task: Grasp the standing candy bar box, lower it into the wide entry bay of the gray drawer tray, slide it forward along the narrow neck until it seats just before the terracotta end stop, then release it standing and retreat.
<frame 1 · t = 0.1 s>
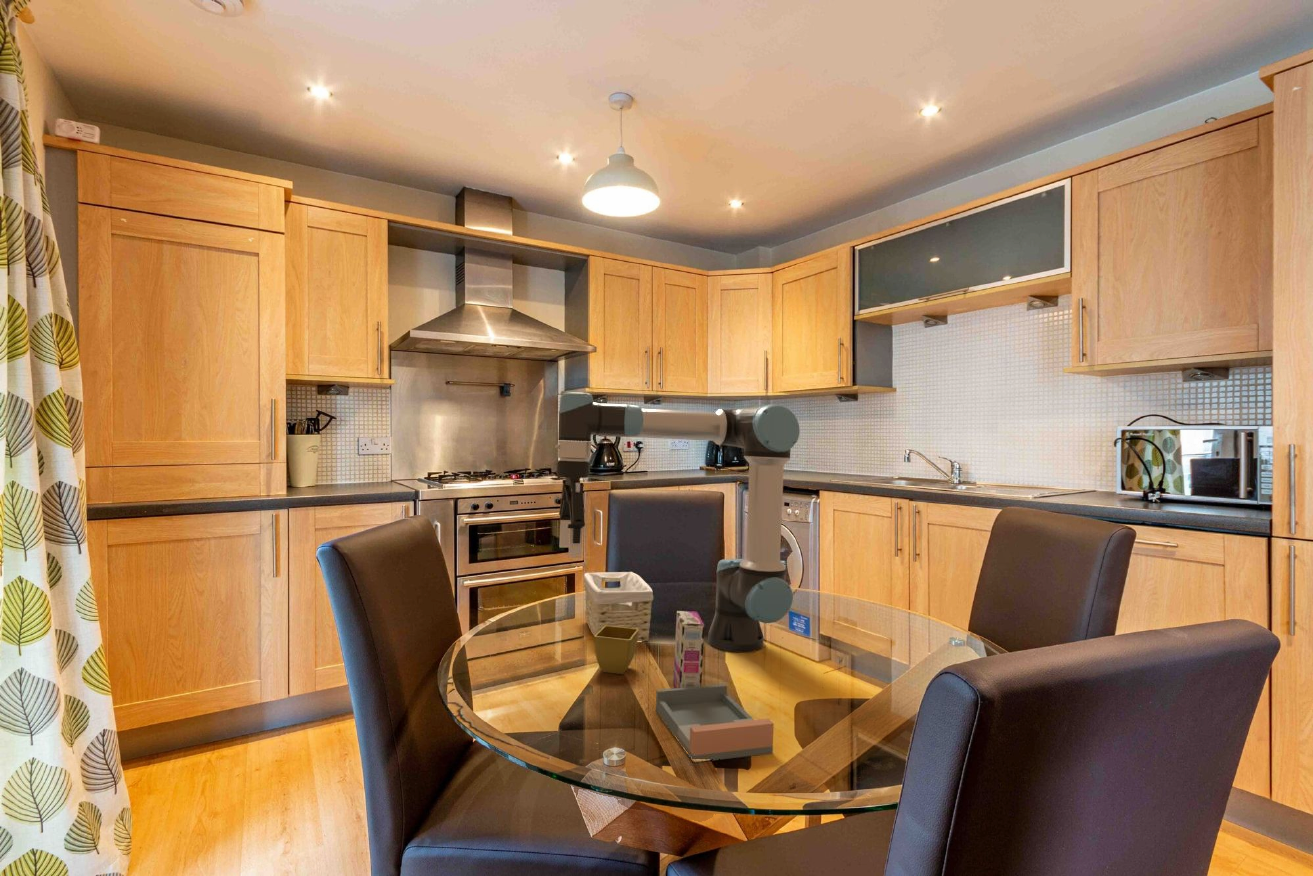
hand: (569, 552, 144), 28 cm above the table, fingers open, 13 cm apart
flower pot: (615, 671, 147), on the table
storage basket: (615, 633, 177), on the table
candy bar box: (686, 693, 136), on the table
gray drawer tray: (710, 730, 118), on the table
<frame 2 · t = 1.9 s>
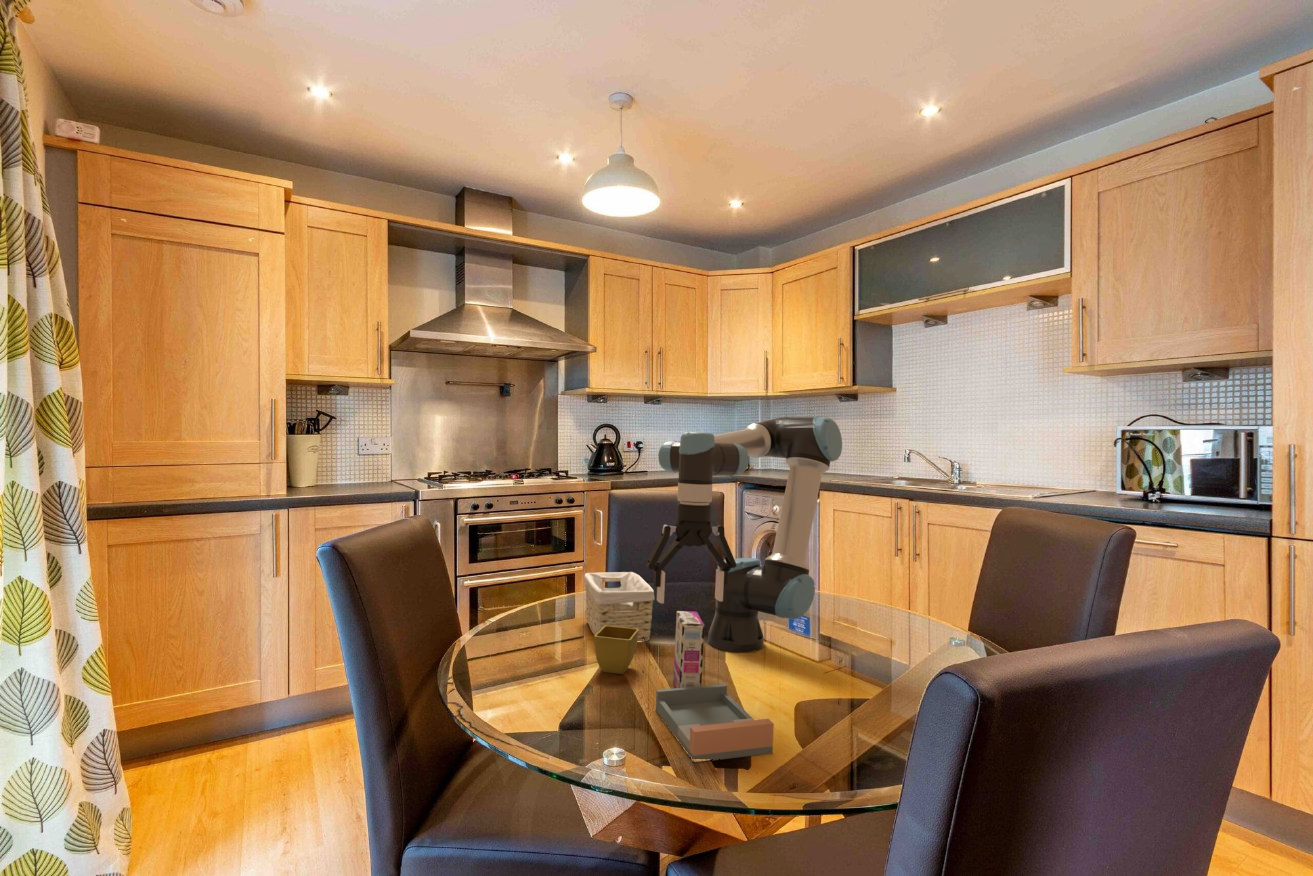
hand: (689, 601, 136), 20 cm above the table, fingers open, 13 cm apart
nothing on the table moved.
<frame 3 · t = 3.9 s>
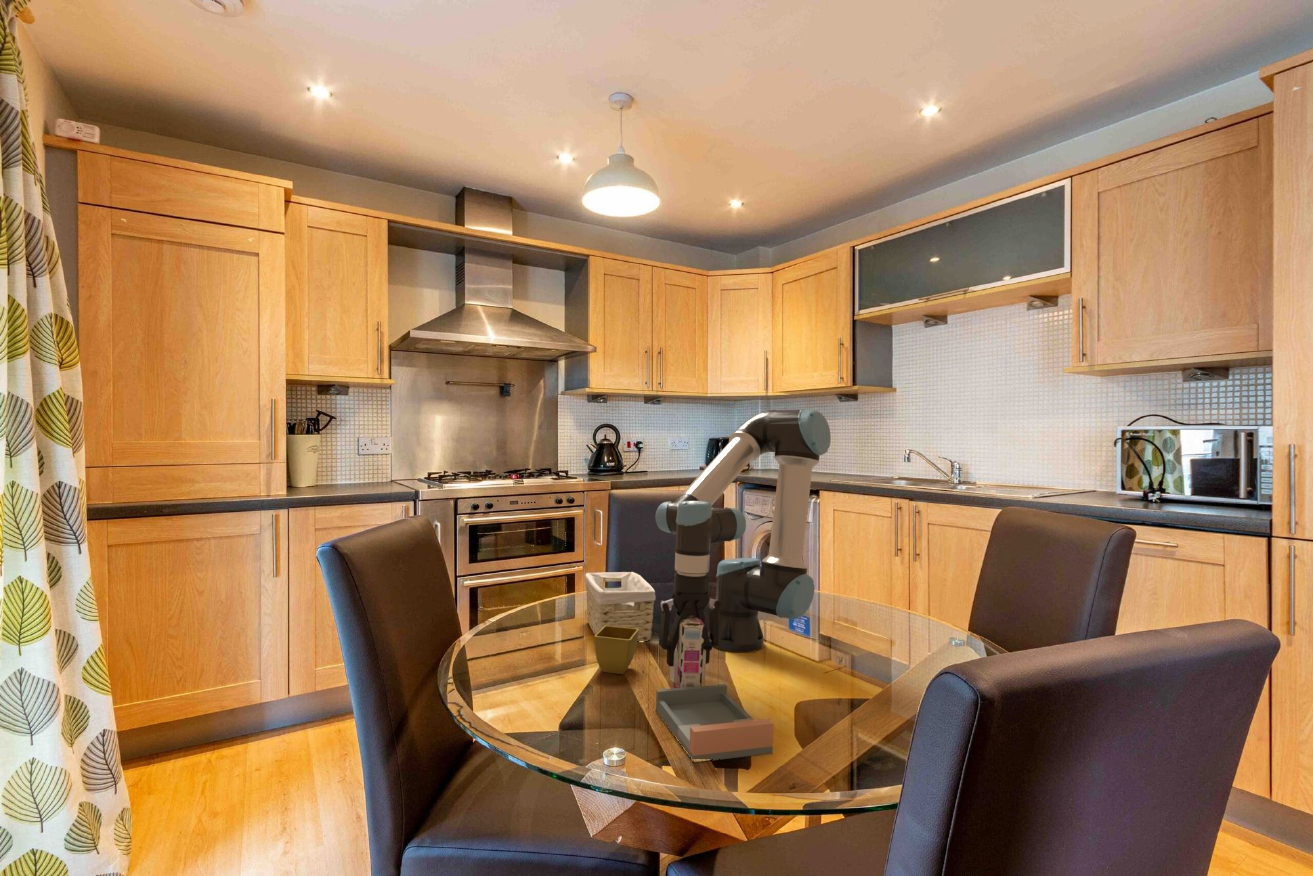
hand: (687, 679, 136), 3 cm above the table, fingers closed on candy bar box, 6 cm apart
candy bar box: (686, 693, 136), on the table, touching gripper
everything else where it was.
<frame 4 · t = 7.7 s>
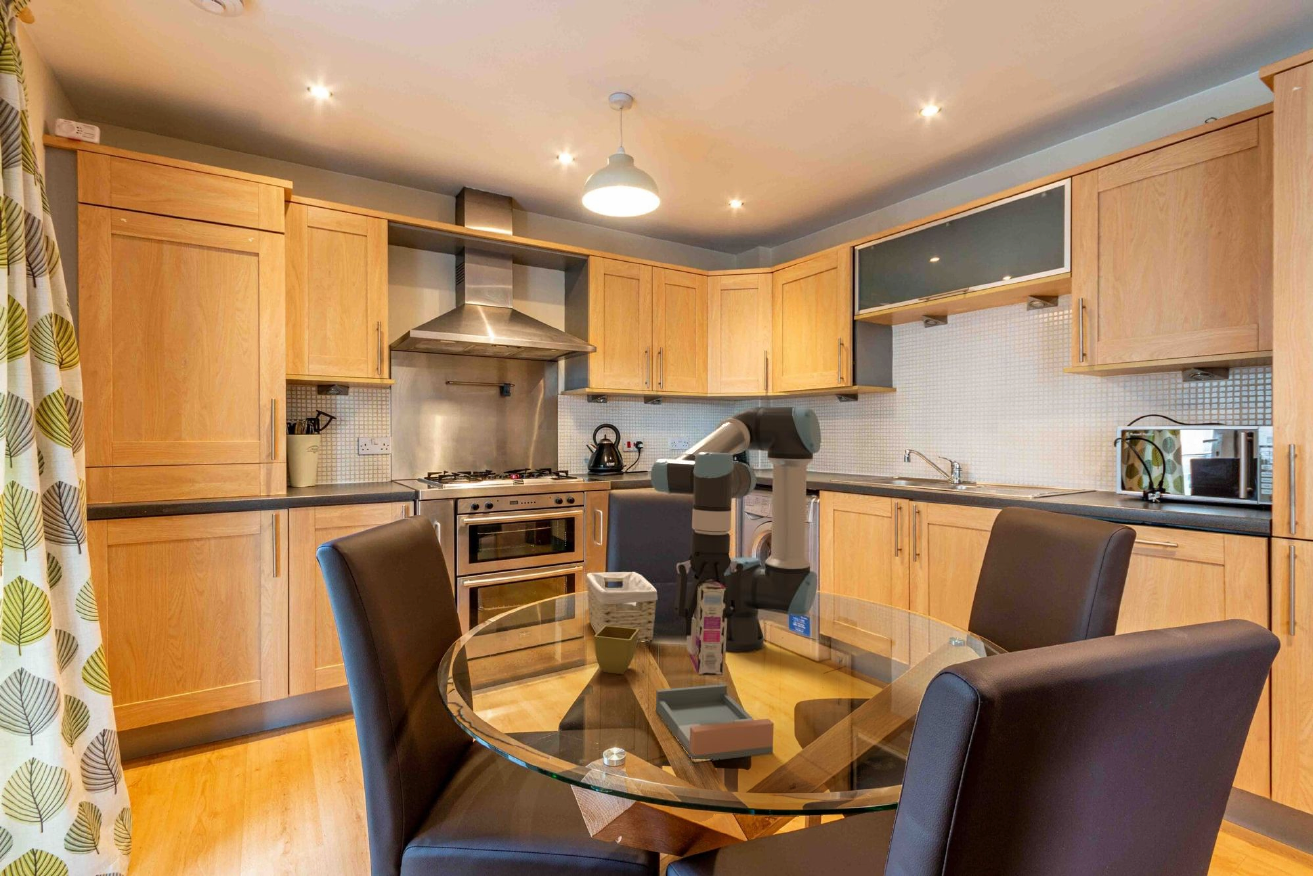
hand: (706, 650, 121), 14 cm above the table, fingers closed on candy bar box, 6 cm apart
candy bar box: (705, 666, 121), point 11 cm above the table, touching gripper
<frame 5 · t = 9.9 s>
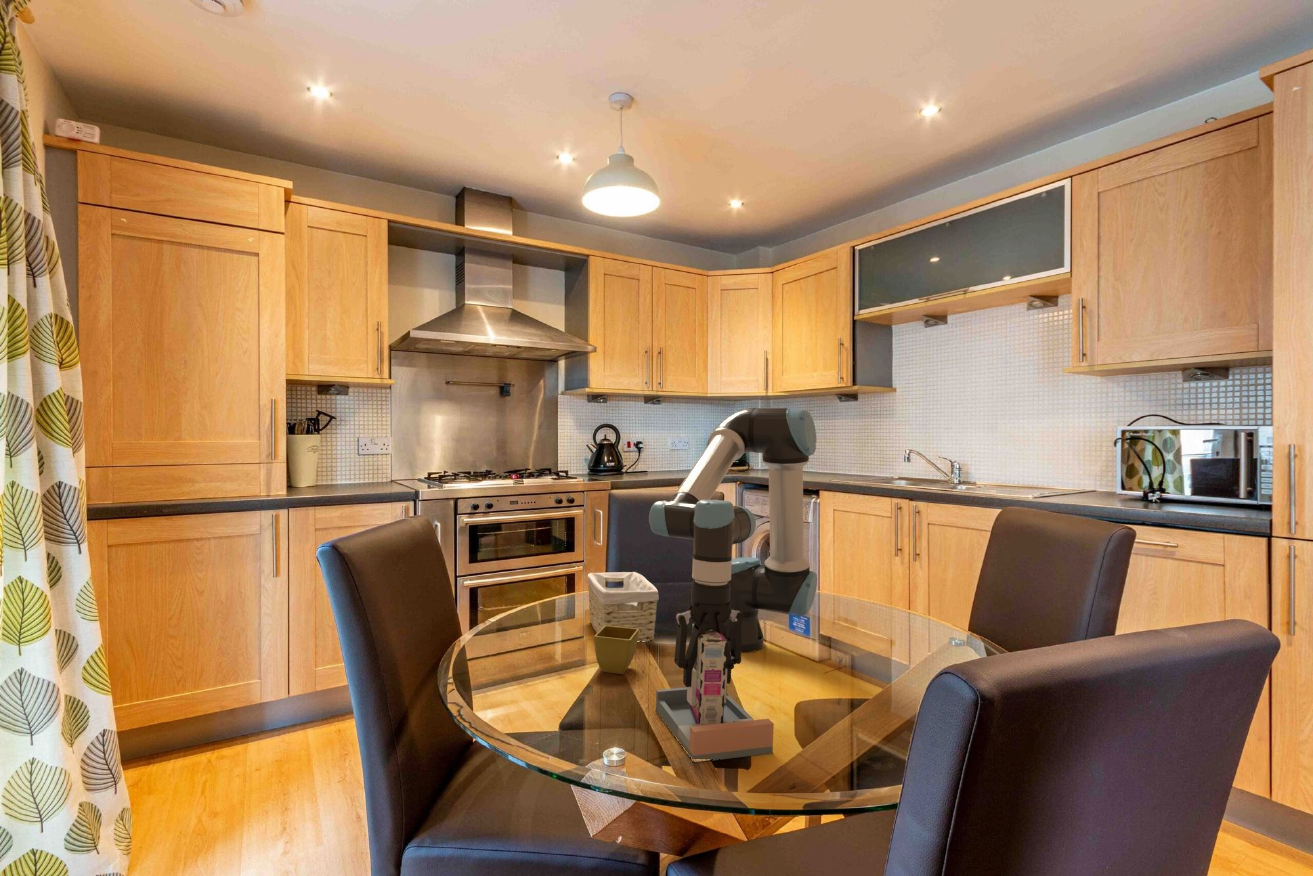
hand: (706, 701, 120), 5 cm above the table, fingers closed on candy bar box, 6 cm apart
candy bar box: (705, 717, 120), point 2 cm above the table, touching gripper, gray drawer tray
when the fingers open (4 cm above the table, at t = 11.8 s): candy bar box stays where it is, resting on gray drawer tray.
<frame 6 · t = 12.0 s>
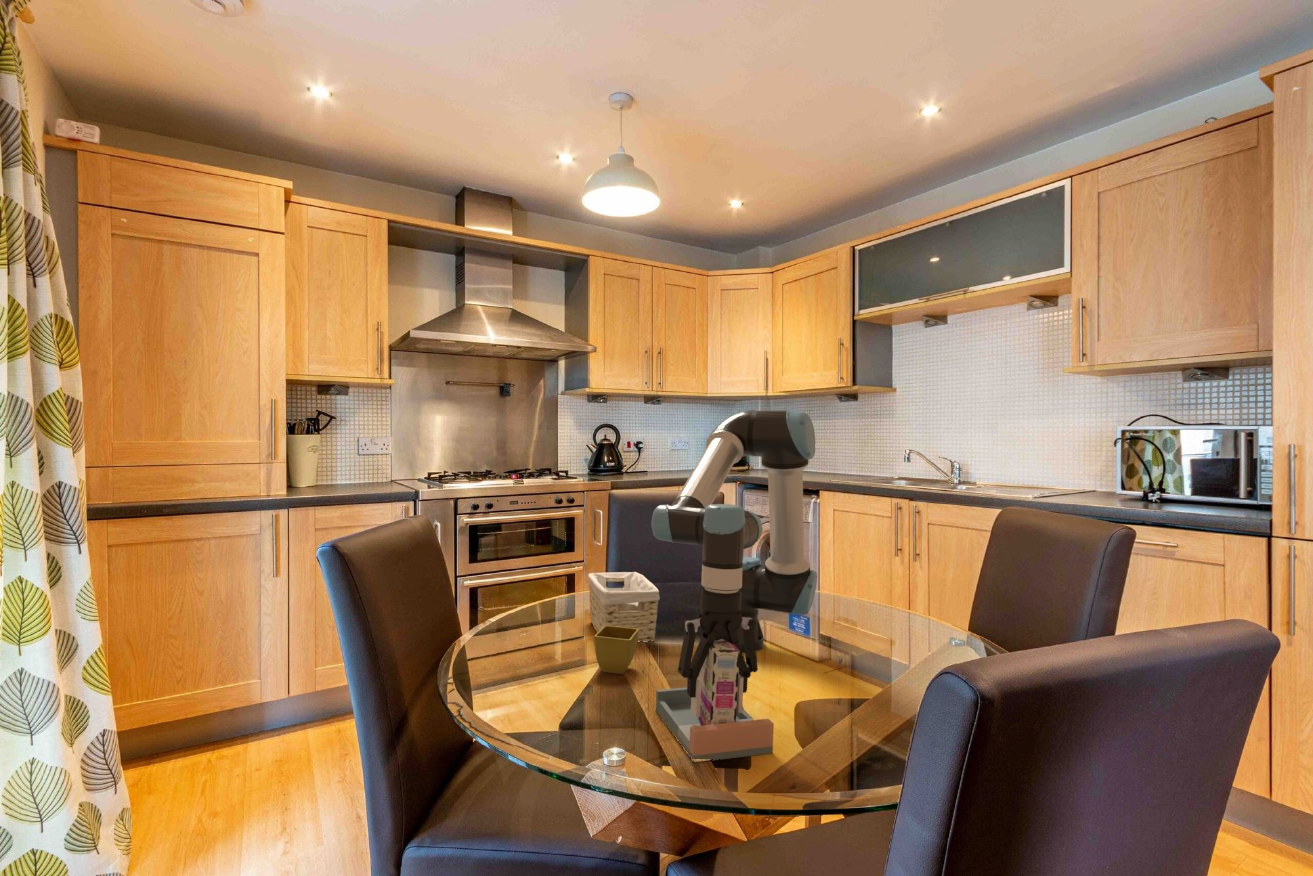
hand: (716, 711, 116), 5 cm above the table, fingers open, 8 cm apart
candy bar box: (716, 730, 116), point 1 cm above the table, touching gray drawer tray
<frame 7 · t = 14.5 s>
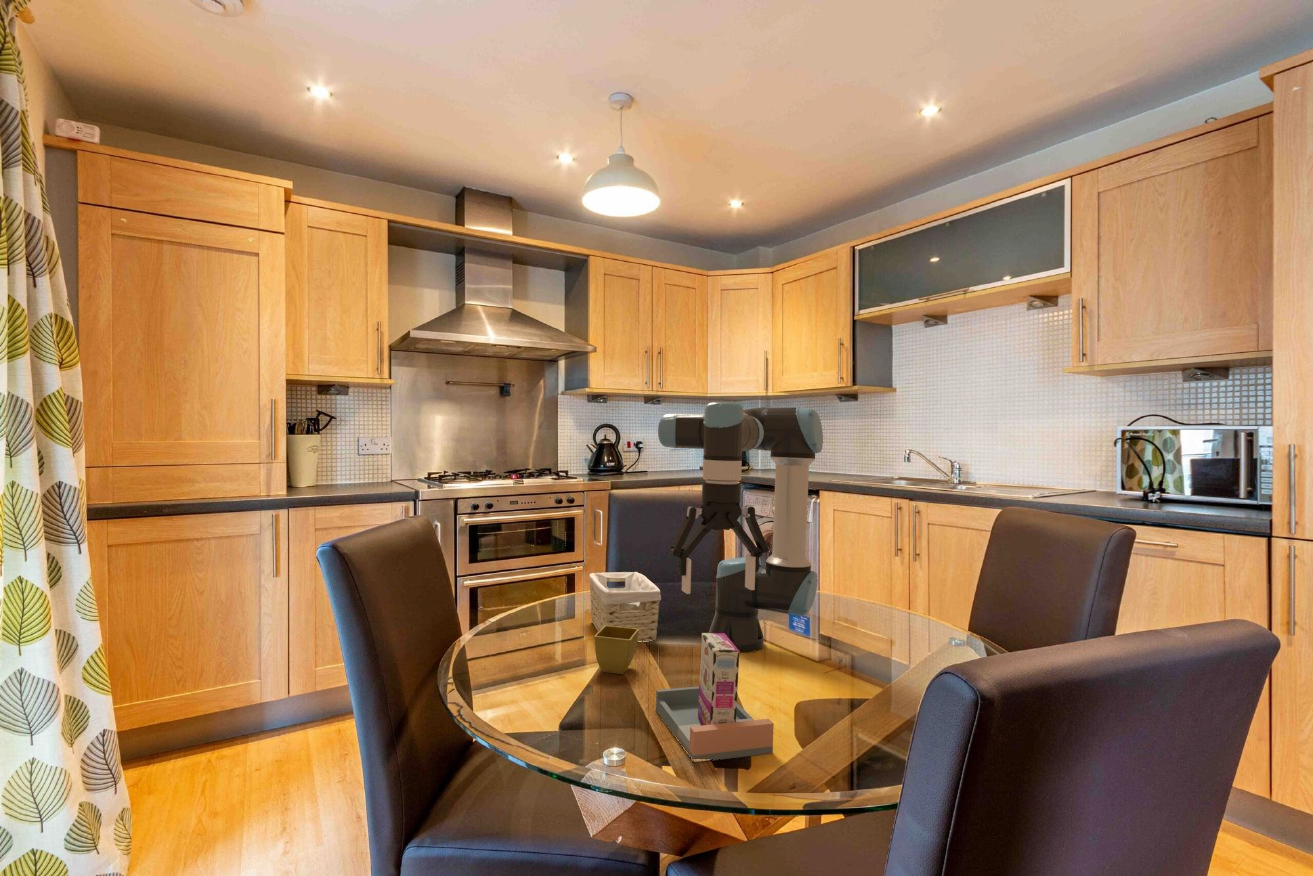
hand: (718, 590, 122), 26 cm above the table, fingers open, 13 cm apart
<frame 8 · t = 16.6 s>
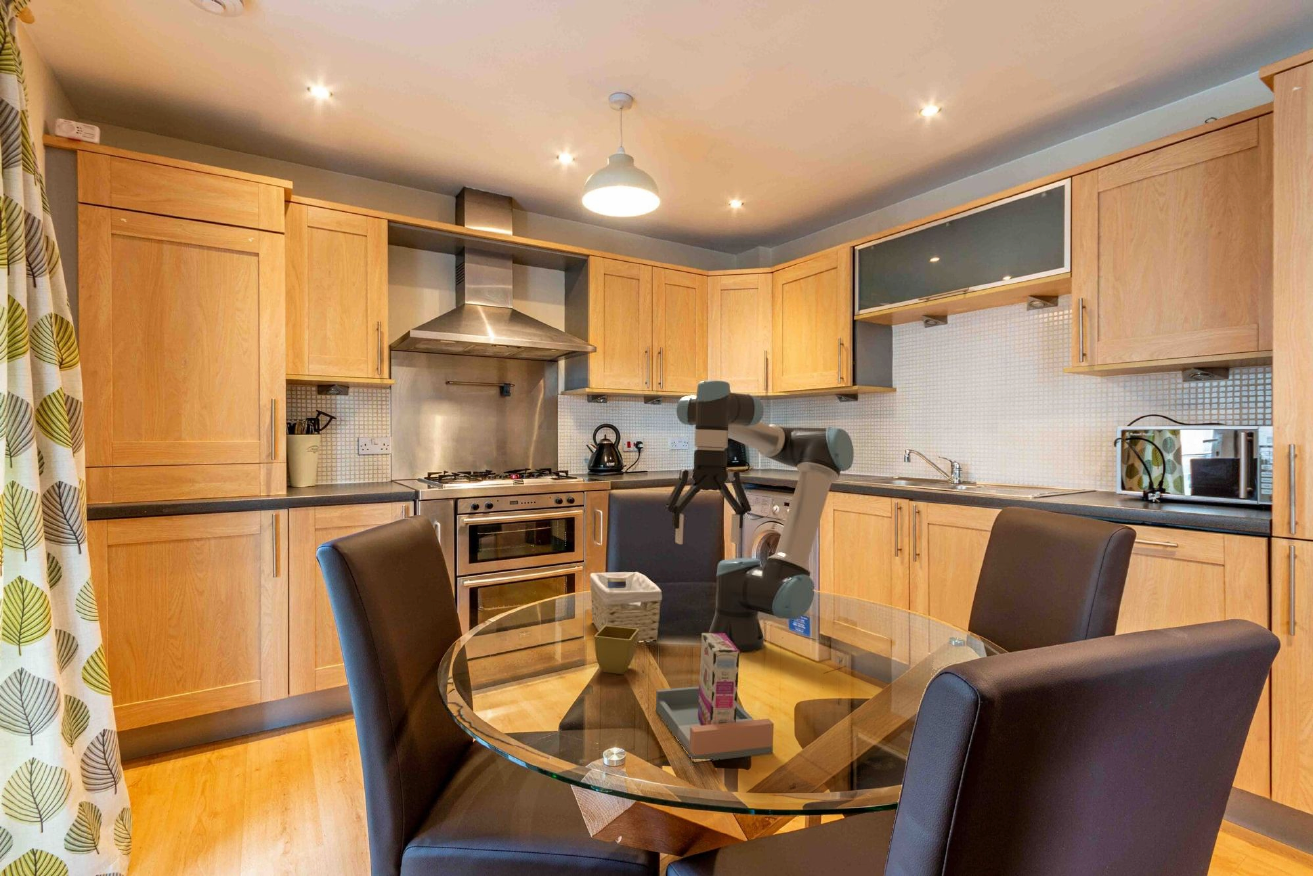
hand: (707, 543, 141), 32 cm above the table, fingers open, 13 cm apart
at the end: candy bar box 0.5 cm from the target spot on the gray drawer tray, point 1.0 cm above the gray drawer tray's base; candy bar box tilted 0°; the gripper is holding nothing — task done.
